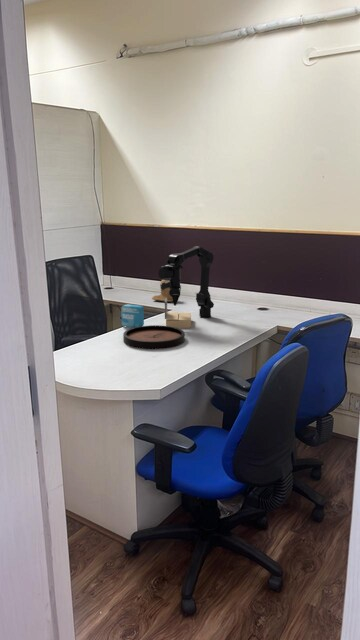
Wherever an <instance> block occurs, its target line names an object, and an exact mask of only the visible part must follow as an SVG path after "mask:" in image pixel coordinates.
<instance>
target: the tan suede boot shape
mask: <svg viewBox="0 0 360 640" xmlns="http://www.w3.org/2000/svg"><path fill="white" fill-rule="evenodd" d="M167 281H169V280H168V279H161V281H160V284H161V283H164V282H167ZM159 286H160V285H159ZM169 290H170V288H166V289H164V290H162V289H161V286H160V294H159V295H154V296H152V298H151V300H153V301H156V302H157V301H158V302H159V301H160V302H165V299H166V298H167V303H168V302H173V299H172V296H170V295H169Z"/></svg>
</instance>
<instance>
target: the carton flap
mask: <svg viewBox="0 0 360 640" xmlns="http://www.w3.org/2000/svg"><path fill="white" fill-rule="evenodd" d="M178 314H179V311H175V312H174V311H168V302H167V298H166V299H165V301H164V320H165V321H166V320H178Z"/></svg>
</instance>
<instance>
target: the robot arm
mask: <svg viewBox="0 0 360 640" xmlns="http://www.w3.org/2000/svg"><path fill="white" fill-rule="evenodd" d="M195 256H196V257H197V258H198V261H199V264H200V267H201V268H200V283H199V284H200V285H199V287H200V288H199V291H198V292H197V293H195V294H196V295H195V300H196V301H195V302H196V303H197V307H200V308H199V309H198V310H199V312H198V313H199V314H198V315H199V317H200V319H201V318H202V319H203V318H205V319H206V318H210V319H211V318H212V313H211V312H212V308H214V305H215V303H214V302H213V301H212V300H211V294H210V291H209V281H210V269H211V266H212V264H213V263H214V262H213V261H214V254H213V253H212V252H210V251H209V250H207V249H204V248H203V247H201V246H197V245H195V246H193V247H192V248H190V249H187V250H184V251H183V252H179V253H171V254H170V255H168V258H167V260H166V262H165V264H164V265H161V266H160V269H159V270H158V272H157V273H158V277H159V278H160V279H161V280H166V279H169V280H168V281H167V282H164V283H161V282H160V283H159V286H161V288H160V290H161V289H162V290H164V289H166V288H170V290H169V295H170V296H172V299H173V301H172V303H173V306H175V307H176V306H177V304H178V301H179V299H180V297H181V290H182V285H181V269H184V267H183V266H182V264H183V263H184V262H185V261H186V260H188V259H190V258H192V257H195Z"/></svg>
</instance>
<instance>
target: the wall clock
mask: <svg viewBox="0 0 360 640" xmlns="http://www.w3.org/2000/svg"><path fill="white" fill-rule="evenodd" d="M185 336H186V334H185V331H184V330H182V328H175V327H170V326H166V325H161V324H160V325H158V324H157V325H155V324H154V325H152V324H151V325H143V326H140V327H130V328H128V329H126V330H125V331H124V332H123V335H122V337H123V343H124V344H125V345H127V346H128V347H131V348H134V349H135V348H136V349H141V350H142V349H143V350H165V349H166V350H167V349H171V348H176V347H179V346H180V345H182V344H184V342H185V340H186V339H185V338H186V337H185Z"/></svg>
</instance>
